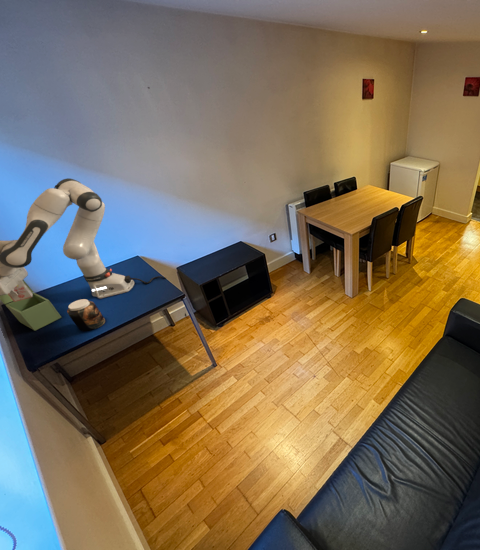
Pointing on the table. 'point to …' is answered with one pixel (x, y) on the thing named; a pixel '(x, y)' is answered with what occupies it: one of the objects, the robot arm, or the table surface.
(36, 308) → the tea box
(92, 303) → the jar
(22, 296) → the tea bag
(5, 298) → the lid
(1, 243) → the robot arm
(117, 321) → the table surface
